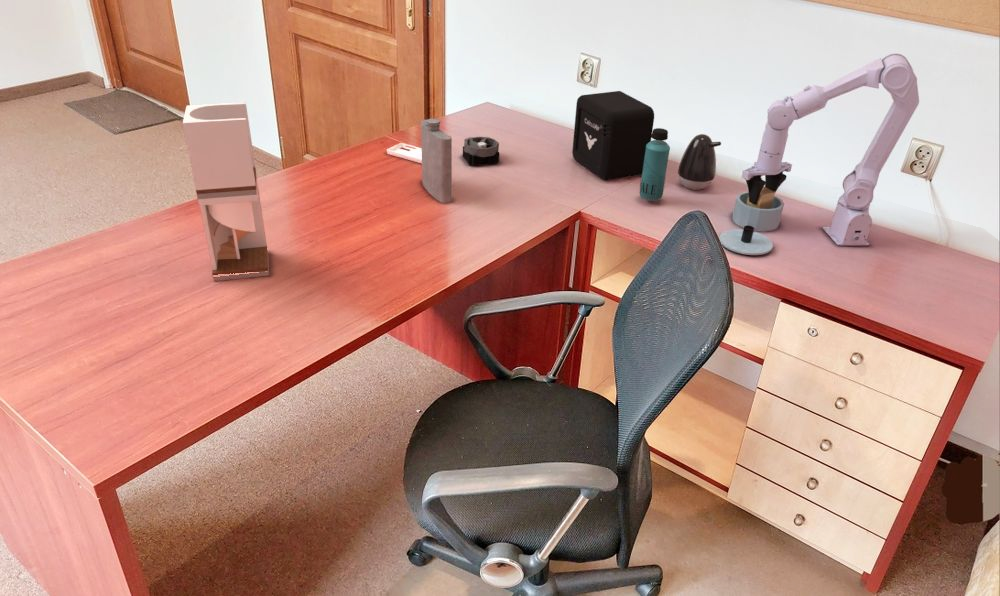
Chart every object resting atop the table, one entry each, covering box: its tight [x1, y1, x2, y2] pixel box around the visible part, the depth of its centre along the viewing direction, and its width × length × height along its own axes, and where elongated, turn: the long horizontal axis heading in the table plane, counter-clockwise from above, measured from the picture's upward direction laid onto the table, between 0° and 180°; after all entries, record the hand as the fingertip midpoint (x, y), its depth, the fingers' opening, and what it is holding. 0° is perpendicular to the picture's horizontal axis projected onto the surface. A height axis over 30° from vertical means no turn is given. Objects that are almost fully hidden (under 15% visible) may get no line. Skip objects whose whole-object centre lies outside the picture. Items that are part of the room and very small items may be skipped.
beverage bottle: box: [639, 127, 671, 201], centre depth 200 cm, size 6×7×20 cm
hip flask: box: [420, 118, 453, 204], centre depth 200 cm, size 16×4×20 cm, turn 26°
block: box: [746, 186, 776, 209], centre depth 193 cm, size 4×4×4 cm
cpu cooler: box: [462, 136, 500, 167], centre depth 224 cm, size 10×6×10 cm
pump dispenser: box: [677, 133, 722, 191], centre depth 210 cm, size 10×10×15 cm
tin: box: [731, 191, 785, 232], centre depth 195 cm, size 12×12×6 cm
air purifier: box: [571, 90, 655, 182], centre depth 219 cm, size 20×15×20 cm
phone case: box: [386, 142, 422, 165], centre depth 227 cm, size 7×1×15 cm
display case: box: [182, 102, 270, 282], centre depth 159 cm, size 11×11×35 cm
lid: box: [718, 226, 774, 256], centre depth 184 cm, size 13×13×5 cm
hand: (760, 201), depth 193 cm, fingers closed on block, 4 cm apart
